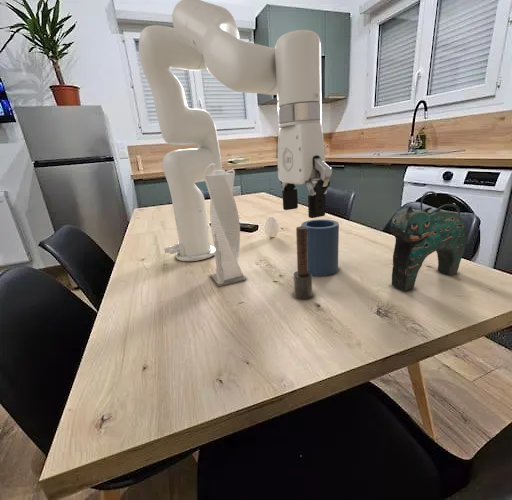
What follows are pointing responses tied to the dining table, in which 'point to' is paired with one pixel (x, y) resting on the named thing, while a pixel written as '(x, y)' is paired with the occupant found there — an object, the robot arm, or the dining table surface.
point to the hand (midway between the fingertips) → (302, 212)
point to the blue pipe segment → (322, 246)
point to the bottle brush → (302, 266)
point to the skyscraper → (224, 226)
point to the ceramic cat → (426, 241)
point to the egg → (271, 226)
